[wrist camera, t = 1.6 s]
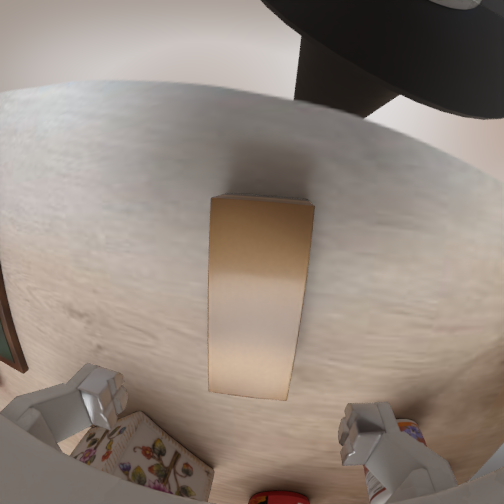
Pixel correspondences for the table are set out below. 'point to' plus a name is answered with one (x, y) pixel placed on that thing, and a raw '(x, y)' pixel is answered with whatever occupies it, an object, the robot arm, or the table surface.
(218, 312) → the eraser
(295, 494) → the canned food
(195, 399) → the table surface
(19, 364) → the chalkboard
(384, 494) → the pill bottle
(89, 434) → the decorative jar
